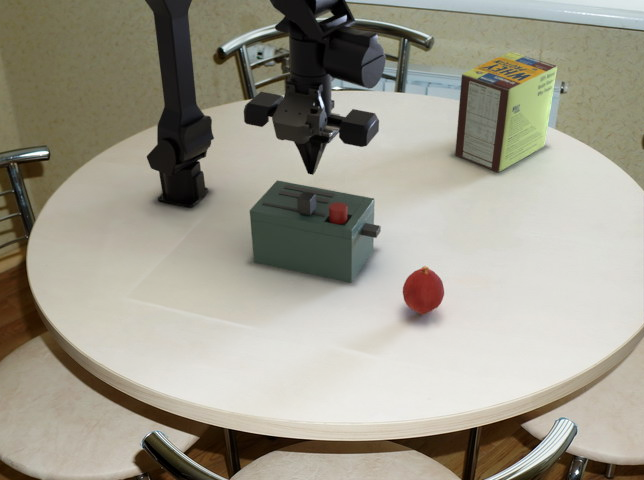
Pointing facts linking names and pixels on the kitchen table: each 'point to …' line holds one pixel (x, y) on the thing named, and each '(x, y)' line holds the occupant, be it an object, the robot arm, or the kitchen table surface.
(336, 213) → the button
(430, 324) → the kitchen table surface
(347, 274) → the toaster
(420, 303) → the onion
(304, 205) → the slider
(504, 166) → the protein box
